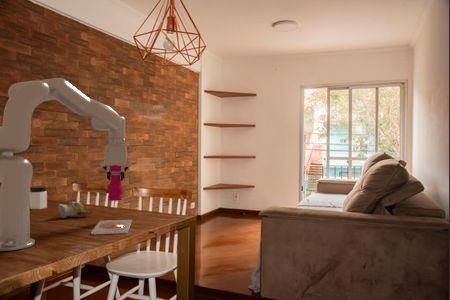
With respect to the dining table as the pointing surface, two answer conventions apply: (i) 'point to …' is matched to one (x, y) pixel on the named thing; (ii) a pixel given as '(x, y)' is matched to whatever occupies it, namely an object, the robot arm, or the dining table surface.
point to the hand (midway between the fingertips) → (115, 180)
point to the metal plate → (112, 227)
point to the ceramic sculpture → (72, 209)
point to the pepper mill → (115, 184)
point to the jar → (38, 197)
